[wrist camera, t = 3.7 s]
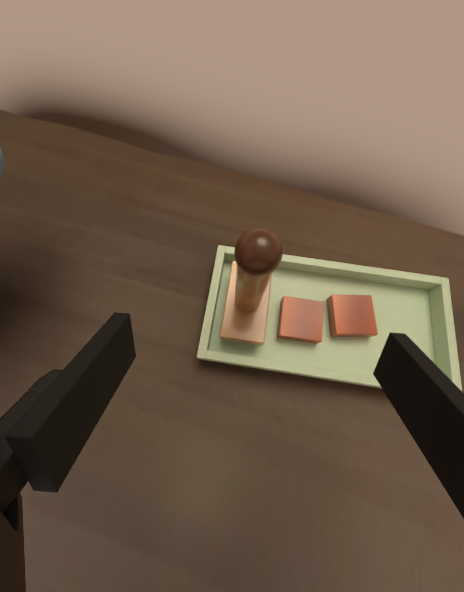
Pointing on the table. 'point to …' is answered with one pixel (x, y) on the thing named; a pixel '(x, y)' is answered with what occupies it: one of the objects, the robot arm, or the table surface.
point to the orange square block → (351, 316)
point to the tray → (332, 350)
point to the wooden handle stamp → (250, 287)
